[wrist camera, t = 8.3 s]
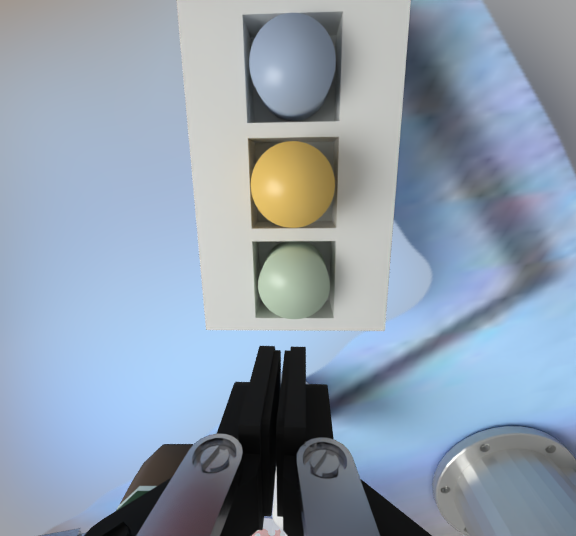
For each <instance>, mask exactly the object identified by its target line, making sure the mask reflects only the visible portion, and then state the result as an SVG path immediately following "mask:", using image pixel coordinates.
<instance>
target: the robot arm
mask: <svg viewBox="0 0 576 536" xmlns="http://www.w3.org/2000/svg"><path fill="white" fill-rule="evenodd" d="M276 473H277V517H283V531H284V532H285V533H286V534H287V536H432V535H430V534H429V533H428V532H427V531H425V530H424V529H423V528H422V527H420V526H419V525H418V524H416V523H415V522H414V521H413V520H411V519H410V518H409V517H408V516H406V515H405V514H404V513H403V512H401V511H400V510H399V509H398V508H396V507H395V506H394V505H393V504H391V503H390V502H389V501H388V500H386V499H385V498H384V497H383V496H381V495H380V494H379V493H378V492H376V491H375V490H374V489H373V488H371V487H370V486H369V485H367V484H366V483H365V482H364V481H362V480H361V479H360V477H359V474H358V471H357V469H356V466H355V463H354V460H353V457H352V455H351V453H350V452H349V450H348V449H347V448H346V447H345V446H344V445H343V444H341V443H340V442H338V441H336V440H333V431H332V422H331V412H330V403H329V394H328V386H327V385H324V384H306V348H305V347H291V351H285V354H284V362H283V371H282V379H281V352H280V350H275V347H274V346H260V347H259V350H258V354H257V357H256V361H255V365H254V368H253V372H252V376H251V380H250V382H235V383H234V385H233V388H232V391H231V394H230V397H229V400H228V403H227V406H226V409H225V411H224V414H223V417H222V420H221V423H220V426H219V429H218V432H217V434H213V435H209V436H206V437H204V438H202V439H200V440H199V441H197V442H196V443H195V444H194V445H193V446H192V447H191V448H190V450H189V451H188V453H187V454H186V456H185V457H184V459H183V461H182V462H181V464H180V466H179V467H178V469H177V470H176V472H175V474H174V475H173V477H171V478H170V479H168V480H166V481H165V482H163V483H161V484H160V485H158V486H157V487H155V488H153V489H152V490H150V491H148V492H147V493H145V494H143V495H142V496H140V497H138V498H137V499H135V500H134V501H132V502H130V503H129V504H127V505H125V506H124V507H122V508H120V509H119V510H117V511H116V512H114V513H112V514H111V515H109V516H107V517H106V518H104V519H102V520H101V521H100V522H98V523H97V524H96V525H94V526H93V527H92V528H91V529H90V530H89V531H88V532H87V533H82V534H81V529H80V528H78V529H73V530H67V531H62V532H56V533H51V534H45V535H40V536H252V535H253V534H254V533H255V532H256V531H257V530H263V523H264V516H271V514H272V505H273V495H274V485H275V475H276ZM432 486H433V495H434V498H435V502H436V504H437V506H438V508H439V511H440V513H441V515H442V516H443V517H444V519H445V520H446V521H447V523H449V524H450V525H451V526H452V527H454V528H455V529H456V530H458V531H459V532H461V533H463V534H465V535H468V536H576V459H575V458H574V457H573V455H572V454H571V453H570V452H569V451H568V450H567V449H566V448H565V447H564V446H563V445H562V444H561V443H560V442H559V441H558V440H557V439H556V438H554V437H552V436H551V435H549V434H547V433H545V432H542V431H539V430H537V429H533V428H528V427H522V426H504V427H497V428H491V429H488V430H484V431H481V432H478V433H476V434H473V435H471V436H469V437H467V438H465V439H464V440H462V441H461V442H459V443H458V444H456V445H455V446H454V447H453V448H452V449H451V450H449V451H448V452H447V453H446V454H445V456H444V457H443V459H442V460H441V461H440V463H439V464H438V467H437V469H436V471H435V473H434V478H433V483H432Z"/></svg>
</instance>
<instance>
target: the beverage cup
mask: <svg viewBox="0 0 576 536" xmlns="http://www.w3.org/2000/svg"><path fill="white" fill-rule="evenodd" d="M252 536H285V532H284V531H283V529H282V528H280V527H279V526H278V525H277V524H276V523H275V522H274V520H273V519H270V518H264V523H263V530H257V531H256V532H255V533H254V534H253V535H252Z"/></svg>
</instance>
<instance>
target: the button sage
mask: <svg viewBox="0 0 576 536" xmlns="http://www.w3.org/2000/svg"><path fill="white" fill-rule="evenodd" d="M258 290H259V294H260V297H261V299H262V301H263V303H264V304H265V306H266V307H267V308H268V309H269V310H270V311H271V312H273V313H274V314H276V315H278V316H280V317H283V318H287V319H302V318H306V317H308V316H311V315H313V314H314V313H316V312H317V311H318V310H319V309H320V308H321V307H322V306H323V305H324V304H325V302H326V300H327V298H328V295H329V291H330V280H329V276H328V272H327V269H326V265H325V262H324V259H323V257H322V255H321V253H320V252H319V251H318V249H317V248H315V247H314V246H313V245H311V244H310V243H308V242H305V241H285V242H282V243H280V244H278V245H277V246H275V247H274V248H273V249H272V250H271V251H270V253H269V254H268V256H267V258H266V260H265V263H264V265H263V268H262V270H261V273H260V276H259V280H258Z"/></svg>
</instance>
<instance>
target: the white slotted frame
mask: <svg viewBox="0 0 576 536" xmlns="http://www.w3.org/2000/svg"><path fill="white" fill-rule="evenodd" d="M176 1H177V12H178V24H179V34H180V46H181V57H182V68H183V79H184V89H185V101H186V112H187V123H188V134H189V145H190V156H191V165H192V166H191V167H192V178H193V190H194V199H195V200H194V201H195V212H196V223H197V233H198V244H199V256H200V267H201V278H202V289H203V299H204V311H205V322H206V330H305V331H309V330H310V331H313V330H315V331H385V321H386V307H387V295H388V282H389V270H390V257H391V244H392V232H393V219H394V206H395V194H396V181H397V168H398V156H399V143H400V130H401V118H402V105H403V92H404V79H405V67H406V54H407V41H408V29H409V16H410V3H411V0H176ZM285 13H301V14H305V15H308V16H310V17H312V18H314V19H315V20H317V21H318V22H319V23H320V24H321V25H322V26H323V27H324V28H325V29H326V31H327V32H328V34H329V36H330V38H331V40H332V42H333V46H334V49H335V55H336V66H335V73H334V77H333V80H332V83H331V86H330V88H329V91H328V94H327V97H326V99H325V101H324V103H323V105H322V106H321V107H320V109H319V110H318V111H317V112H316V113H314V114H313V115H312V116H310V117H308V118H306V119H304V120H300V121H287V120H283V119H280V118H278V117H276V116H275V115H274V114H272V113H271V112H270V111H269V110H268V109H267V108H266V106H265V105H264V103H263V101H262V99H261V97H260V95H259V94H258V92H257V90H256V88H255V86H254V84H253V81H252V78H251V74H250V67H249V57H250V51H251V47H252V44H253V41H254V39H255V37H256V35H257V33H258V32H259V31H260V29H261V28H262V27H263V26H264V25H265V24H266V23H267V22H268V21H269V20H271V19H273V18H274V17H276V16H278V15H281V14H285ZM287 141H299V142H304V143H307V144H309V145H311V146H313V147H315V148H316V149H318V150H319V151H320V152H321V153H322V154H323V155H324V156H325V157H326V158H327V160H328V161H329V163H330V165H331V167H332V170H333V173H334V178H335V191H334V196H333V199H332V202H331V204H330V206H329V207H328V209H327V210H326V212H325V213H324V214H323V215H322V216H321V217H320V218H319V219H318V220H316V221H315V222H313V223H311V224H309V225H306V226H303V227H298V228H287V227H282V226H279V225H277V224H274V223H272V222H271V221H269V220H268V219H267V218H266V217H264V216H263V215H262V213H261V212H260V211H259V210H258V208H257V206H256V204H255V202H254V200H253V197H252V193H251V177H252V173H253V169H254V167H255V165H256V163H257V161H258V159H259V158H260V157H261V156H262V155H263V154H264V153H265V152H266V151H267V150H268V149H270V148H271V147H273V146H275V145H277V144H279V143H282V142H287ZM285 241H305V242H308V243H310V244H311V245H313V246H314V247H315V248H317V249H318V251H319V252H320V253H321V255H322V257H323V259H324V262H325V265H326V269H327V272H328V276H329V280H330V291H329V295H328V298H327V300H326V302H325V304H324V305H323V306H322V307H321V308H320V309H319V310H318V311H317V312H316V313H314V314H313V315H311V316H308V317H306V318H302V319H287V318H283V317H280V316H278V315H276V314H274V313H273V312H271V311H270V310H269V309H268V308H267V307H266V306H265V304H264V303H263V301H262V299H261V297H260V294H259V290H258V280H259V276H260V273H261V270H262V268H263V265H264V263H265V260H266V258H267V256H268V254H269V253H270V251H271V250H272V249H273V248H274V247H275V246H277V245H278V244H280V243H282V242H285Z"/></svg>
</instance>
